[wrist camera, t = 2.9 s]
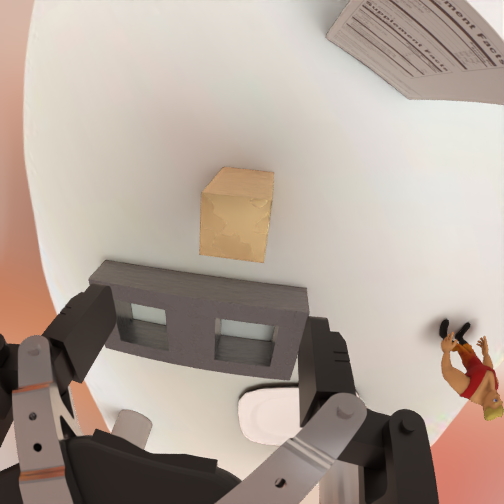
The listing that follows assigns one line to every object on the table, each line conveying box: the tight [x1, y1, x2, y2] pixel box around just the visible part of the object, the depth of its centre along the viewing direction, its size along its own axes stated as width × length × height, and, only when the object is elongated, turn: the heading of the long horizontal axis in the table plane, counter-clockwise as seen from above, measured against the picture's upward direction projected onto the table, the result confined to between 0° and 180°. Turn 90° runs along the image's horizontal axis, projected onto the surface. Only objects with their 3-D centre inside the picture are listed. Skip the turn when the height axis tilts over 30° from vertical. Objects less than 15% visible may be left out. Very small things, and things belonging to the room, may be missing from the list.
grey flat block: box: [89, 260, 309, 380], centre depth 31 cm, size 22×10×4 cm, turn 84°
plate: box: [238, 386, 360, 446], centre depth 41 cm, size 18×18×2 cm
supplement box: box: [326, 0, 504, 105], centre depth 11 cm, size 10×9×17 cm
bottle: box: [111, 410, 152, 450], centre depth 35 cm, size 7×7×28 cm
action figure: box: [439, 320, 504, 421], centre depth 25 cm, size 10×4×15 cm, turn 78°
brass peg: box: [199, 167, 274, 263], centre depth 23 cm, size 4×4×8 cm
